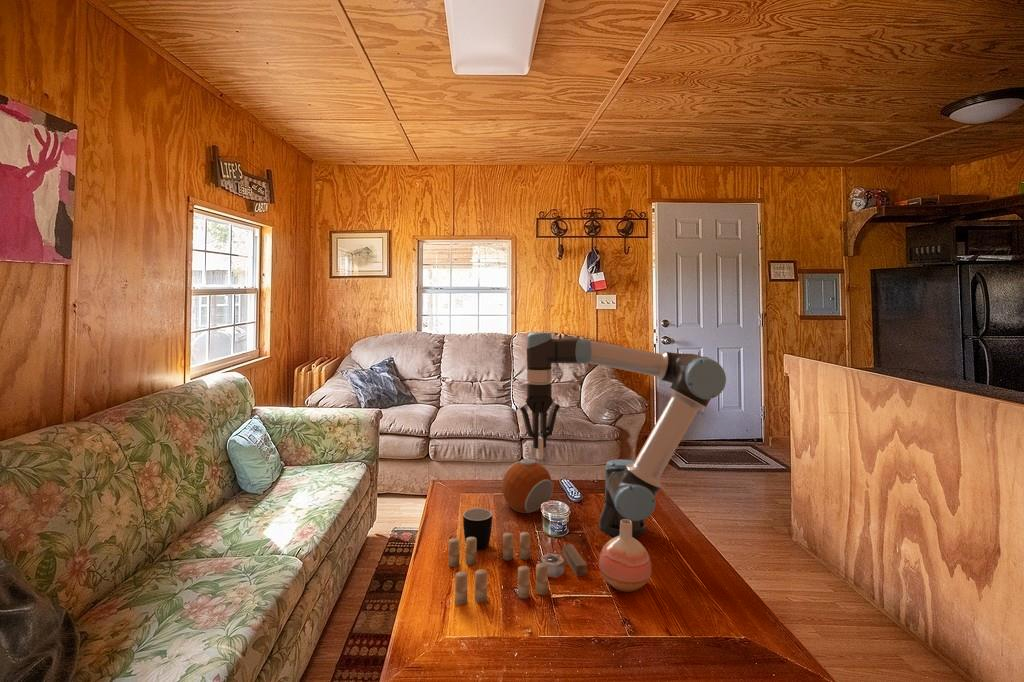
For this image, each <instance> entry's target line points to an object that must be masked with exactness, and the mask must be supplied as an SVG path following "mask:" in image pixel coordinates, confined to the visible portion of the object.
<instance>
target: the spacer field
mask: <svg viewBox="0 0 1024 682" xmlns="http://www.w3.org/2000/svg"><path fill="white" fill-rule="evenodd" d="M476 547H477V539H476V538H475V537H468V538H466V542H465V564H466V565H468V566H475V565H476V564H477V551H476ZM530 550H531V533H530V532H528V531H522V532H520V533H519V558H520V559H521V560H523V561H525V560H530V556H531V555H530V554H531V551H530ZM502 559H503V560H504V561H511V560H513V559H514V534H513V533H512V532H504V533H503V534H502ZM459 565H460V539H459V538H455V537H453V538H450V539H448V566H449V567H451V568H457V567H458V566H459ZM535 566H536V567H535V593H536V595H539V596H546V595H547V594H548V579H549V578H548V565H547V564H545V563H540V562H539V563H537V564H535ZM530 571H531V568H530V567H528V566H527V565H520V566H518V567H517V597H518V598H520V599H522V600H525V599H528V598H529V597H530V580H531V579H530V578H531V577H530V576H531V575H530ZM474 574H475V575H474V578H475V579H474V580H475V581H474V595H475V596H474V601H475V602H476V603H479V604H483V603H485V602H487V600H488V571H487V570H486V569H477V570H476V571H475V573H474ZM454 576H455V578H454V580H455V585H454V587H455V588H454V589H455V590H454V592H455V593H454V594H455V596H454V597H455V600H454V602H455V605H457V606H465V605H466V604H468V573H467V572H466V571H458V572H456V573H455V574H454Z"/></svg>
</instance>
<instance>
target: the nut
mask: <svg viewBox="0 0 1024 682" xmlns="http://www.w3.org/2000/svg"><path fill="white" fill-rule="evenodd" d="M539 561H540V562H539V563H545V564H547V565H548V577H549V578H554V579H557V578H558V577H560V576H562V575H564V574H565V559H564V558H563V556H562V555H561V554H557V553H550V552H548V553H546V554H544V555H542V556H540V558H539Z"/></svg>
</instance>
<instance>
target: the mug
mask: <svg viewBox="0 0 1024 682" xmlns="http://www.w3.org/2000/svg"><path fill="white" fill-rule="evenodd" d="M462 518H463V520H462V523H463V524H462V525H463V533H464V541H465V543H466V538H468V537H475V538H476V539H477V547H476V552H477V551H483V550H485V549H486V548H488V546H489V544H490V539H491V535H492V528H493V527H492V525H493V513H492V511H490V509H486V508H482V507H481V508H480V507H474V508H470V509H468V510H466V511H464V512H463V515H462Z"/></svg>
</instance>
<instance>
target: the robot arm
mask: <svg viewBox="0 0 1024 682" xmlns="http://www.w3.org/2000/svg"><path fill="white" fill-rule="evenodd" d="M552 364H578V365H580V364H591V365H597V366H603V367H607V368H613V369H617V370H618V369H619V370H624V371H628V372H633V373H638V374H643V375H646V376H647V375H648V376H653V377H656V378H657V380H659V381H663V382H667V383H670V384H671V385H670V387H669V391H670V393H671V396H670V398H669V400H668V402H667V403H666V405H665V407H664V408H663V410H662V412H661V414H660V416H659V418H658V419H657V421H656V423H655V424H654V426H653V428H652V430H651V431H650V433H649V435H648V436H647V439H646V440H645V442H644V444H643V445H642V447H641V449H640V451H639V453H638V455H636V458H635V460H631V459H619V458H618V459H610V460H608V461H606V464H605V469H604V471H605V479H604V481H605V485H604V486H605V487H604V491H605V492H604V505H603V508H602V511H601V512H600V516H599V519H598V526H599V529H600V530H601V531H602V532H603V533H605V534H607V535H609V536H612V537H617V536H619V535H620V521H621V520H622V519H628V520H630V521H632V537H633V538H638V537H641V536H642V535H643V534H644V533H645V530H646V523H645V520H646V519H648V518H649V517H650V516H651V515H652V514H653V512H654V511H655V509H656V503H657V501H656V495H657V494H658V492H659V490H660V488H661V487H662V484H661V481H660V478H661V476H662V474H663V472H664V471H665V470H666V469H665V468H666V467H667V465H668V464H669V462H670V460H671V458H672V457H673V455H674V453H675V451H676V449H677V448H678V446H679V444H680V443H681V442H682V439H683V437H684V436H685V433H686V432H687V430H688V428H689V427H690V425H691V423H692V422H693V420H694V418H695V416H696V415H697V413H698V411H699V410H703V409H706V408H707V406H708V404H709V403H710V402H711V400H712V399H714V398H716V397H718V396H719V395H720V394H721V393H723V391H724V389H725V387H726V384H727V375H726V372H725V370H724V368H723V367H722V365H721V364H720V363H719V362H717V361H716V360H714V359H712V358H710V357H708V356H702V355H697V354H694V353H679V352H669V351H662V352H661V353H658V352H653V351H648V350H644V349H643V350H642V349H638V348H632V347H626V346H621V345H616V344H611V343H608V342H607V343H605V342H601V341H596V340H590V339H589V338H579V337H575V336H572V335H565V336H564V335H563V336H562V337H561V338H553V336H552V333H551V332H544V331H543V332H541V331H540V332H539V331H537V332H535V331H534V332H529V333H528V335H526V381H527V384H526V392H527V393H526V396H527V397H526V400H525V403H524V404H522V405H519V406H518V409H519V411H520V412H521V415H522V417H523V419H522V420H523V423H524V426H525V430H526V431H525V432H526V434H527V435H528V436H529V437H530V438H532V446H533V448H534V449H535V458H536V459H538V460H544V448H545V449H546V447H547V439H548V437H549V436H552V435H553V431H554V428H555V422H556V418H557V413H558V411H559V410H560V408H561V406H560V404H558V403H556V402H554V399H553V396H552V388H553V387H552V381H553V380H552V379H553V378H552ZM550 408H551V409H550ZM549 409H550V412H549V416H548V410H549ZM529 410H530V411H531V415H532V425H531V421H530V416H529V413H528V411H529ZM547 416H548V417H547ZM539 419H540V423H539ZM547 419H548V420H547ZM539 425H540V426H539ZM539 427H540V432H539ZM539 434H540V435H539Z"/></svg>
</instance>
